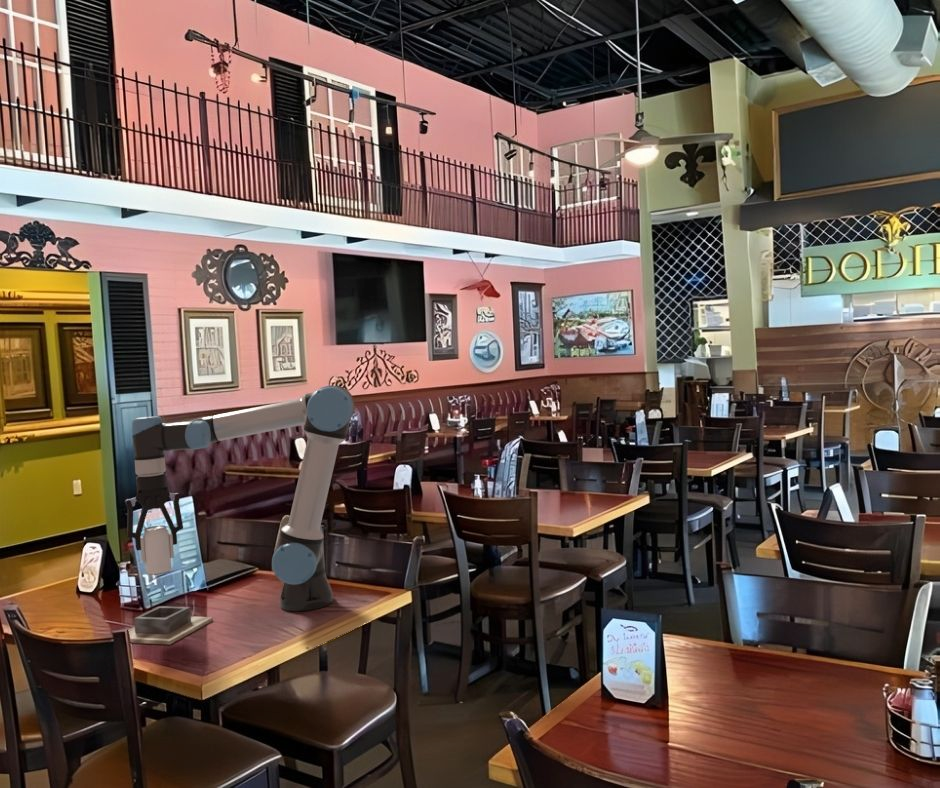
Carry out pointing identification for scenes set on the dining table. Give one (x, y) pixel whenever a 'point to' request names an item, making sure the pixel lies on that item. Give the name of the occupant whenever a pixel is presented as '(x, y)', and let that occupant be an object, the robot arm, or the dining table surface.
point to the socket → (165, 625)
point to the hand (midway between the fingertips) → (157, 559)
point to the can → (157, 550)
